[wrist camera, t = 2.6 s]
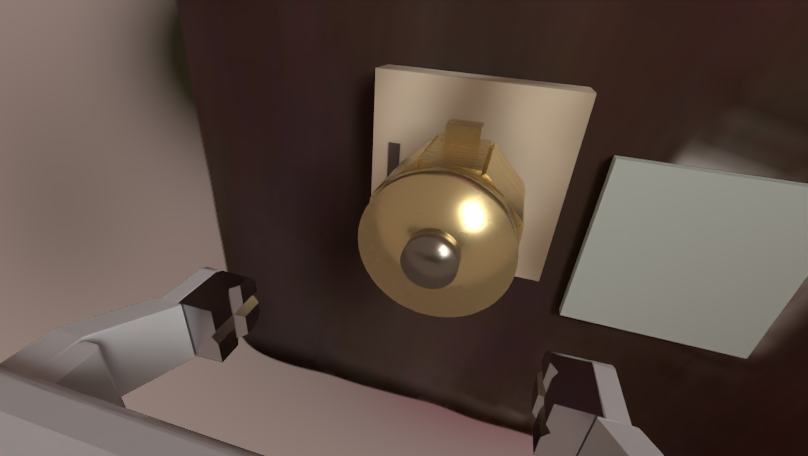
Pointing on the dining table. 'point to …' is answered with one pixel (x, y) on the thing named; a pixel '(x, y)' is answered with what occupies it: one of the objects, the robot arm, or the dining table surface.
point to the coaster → (690, 254)
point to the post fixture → (489, 135)
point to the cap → (446, 225)
